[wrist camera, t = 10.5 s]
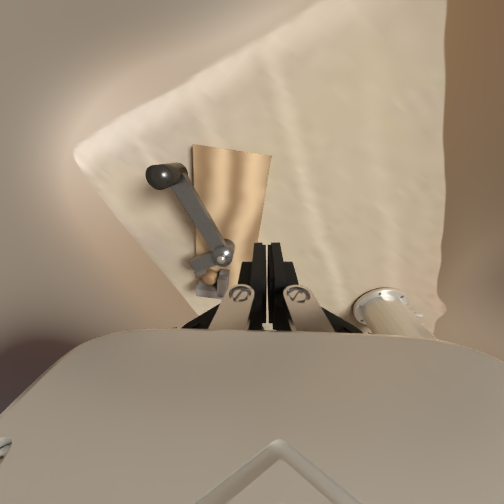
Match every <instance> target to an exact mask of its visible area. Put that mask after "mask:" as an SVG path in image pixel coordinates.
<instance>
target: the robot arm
mask: <svg viewBox="0 0 504 504" xmlns="http://www.w3.org/2000/svg"><path fill="white" fill-rule="evenodd" d="M267 282H268V310H269V323H273V330H277V331H269V330H260V329H262V323H266V245H262V243H254V249H253V259H252V262H242V264H241V269H240V274H239V279H238V284H237V285H234V286H232V287H230V288H229V289H228V290H227V291H226V293H225V295H224V297H223V299H222V301H221V303H220V304H219V305H217V306H215V307H214V308H212V309H210V310H209V311H207V312H205V313H204V314H202V315H200V316H198V317H197V318H195V319H194V320H192V321H190V322H188V323H187V324H186V325H184V326H183V327H182V328H180V329H179V328H177V327H174V328H158V329H135V330H126V331H120V332H115V333H111V334H108V335H104V336H100V337H98V338H95V339H92V340H90V341H87V342H85V343H83V344H81V345H79V346H77V347H75V348H74V349H72V350H71V351H70V352H68V353H67V354H65V356H63V357H62V358H60V359H59V360H58V361H57V362H56V363H54V364H53V365H52V366H51V367H50V368H49V369H48V370H47V371H45V372H44V373H43V374H42V375H41V376H40V377H39V378H38V379H37V380H36V381H34V382H33V383H32V384H31V385H30V386H29V387H28V388H27V389H26V390H25V391H24V392H23V393H22V394H21V395H20V396H19V397H18V398H17V399H16V400H15V401H14V402H13V403H12V404H11V405H10V406H9V407H8V408H7V409H6V410H5V411H4V412H3V413H2V414H0V504H504V362H502V361H500V360H498V359H496V358H494V357H491V356H489V355H487V354H485V353H482V352H479V351H476V350H474V349H470V348H467V347H464V346H461V345H457V344H454V343H450V342H446V341H441V340H437V339H436V338H435V336H434V335H433V334H432V333H431V332H430V331H429V330H428V329H427V328H426V327H425V326H424V325H423V324H422V321H421V320H420V319H418V318H422V317H423V315H422V313H420V312H413V311H412V310H411V309H410V308H409V307H408V298H407V297H406V296H405V295H404V294H403V293H402V292H401V291H399V290H397V289H394V288H380V289H376V290H372V291H370V292H368V293H366V294H364V295H363V296H361V297H360V298H359V299H358V300H357V301H356V303H355V304H354V307H353V314H354V316H355V318H356V319H357V320H358V321H359V322H360V323H362V324H365V325H368V327H369V329H370V330H371V332H372V333H369V332H368V334H364V333H363V332H362V331H360V330H359V329H358V328H356V327H355V326H353V325H351V324H349V323H348V322H346V321H344V320H343V319H341V318H339V317H338V316H336V315H334V314H333V313H331V312H329V311H327V310H326V309H324V308H322V307H321V306H320V305H319V303H318V301H317V300H316V298H315V296H314V294H313V293H312V292H311V290H309V289H308V288H306V287H304V286H301V285H299V284H298V280H297V276H296V273H295V269H294V266H293V262H283V257H282V252H281V247H280V243H271V245H268V277H267Z"/></svg>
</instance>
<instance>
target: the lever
mask: <svg viewBox="0 0 504 504" xmlns="http://www.w3.org/2000/svg"><path fill="white" fill-rule="evenodd" d="M146 179H147V181H148V183H149V184H150V185H151V186H152V187H153V188H155V189H158V190H163V189H165V188H168V187H172V189H173V191H174V192H175V194H176V195H177V197H178V198H179V200H180V202H181V203H182V205H183V206H184V208H185V210H186V211H187V213H188V214H189V216H190V218H191V219H192V221H193V222H194V224H195V225H196V227H197V229H198V230H199V232H200V233H201V235H202V237H203V238H204V240H205V241H206V243H207V245H208V246H209V248H210V249H211V251H208V252H206V253H203V254H201V255H198V256H196V257H193V258H191V259H190V261H189V263H190V265H191V266H192V268H193V269H194V270H195V272H194V273H195V274H196V275H197V276H200V275H203V274H206V273H207V272H208V270H209V268H210V267H213V266H216V265H217V266H220V267H226V266H228V265H230V264H231V262H232V259H233V255H234V251H235V244H234V243H233V242H232V241H231V240H229V239H223V237H222V235H221V233H220V232H219V230H218V228H217V226H216V225H215V223H214V221H213V219H212V218H211V216H210V214H209V212H208V211H207V209H206V207H205V205H204V204H203V202H202V200H201V198H200V197H199V195H198V193H197V191H196V190H195V188H194V186H193V184H192V183H191V181H190V179H189V177H188V172H187V169H186V168H185V166H184V165H182V164H181V163H169V164H160V165H152V166H150V167H148V168H147V170H146Z"/></svg>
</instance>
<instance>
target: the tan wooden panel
mask: <svg viewBox="0 0 504 504" xmlns="http://www.w3.org/2000/svg"><path fill="white" fill-rule="evenodd" d="M270 162H271V156H268V155H262V154H255V153H248V152H241V151H235V150H228V149H221V148H214V147H208V146H201V145H194V144H193V170H194V188H195V190H196V191H197V193H198V195H199V197H200V198H201V200H202V202H203V204H204V205H205V207H206V209H207V211H208V212H209V214H210V216H211V218H212V219H213V221H214V223H215V225H216V226H217V228H218V230H219V232H220V233H221V235H222V237H223V239H229V240H231V241H232V242H233V243H234V244H235V251H234V255H233V259H232V262H231V264H230V265H228V266H226V267H220V266H217V265H216V266H213V267H210V268H209V269H213V270H215V271H216V272H217V274H218V279H217V282H216V283H215V284H213V285H207V284H205V283H204V282H203V281H202V275H200V276H197V287H196V296H200V297H208V298H216V299H223V297H224V295H225V293H226V291H227V290H228V289H229V288H230V287H232V286H234V285H237V284H238V279H239V274H240V269H241V264H242V262H252V259H253V249H254V243H258V236H259V230H260V224H261V218H262V211H263V205H264V199H265V193H266V187H267V180H268V174H269V168H270ZM195 234H196V256H198V255H201V254H203V253H206V252H208V251H211V249H210V248H209V246H208V245H207V243H206V241H205V240H204V238H203V237H202V235H201V233H200V232H199V230H198V229H197V227H196V225H195Z"/></svg>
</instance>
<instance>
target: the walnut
mask: <svg viewBox="0 0 504 504" xmlns="http://www.w3.org/2000/svg"><path fill="white" fill-rule="evenodd" d="M217 279H218V274H217V272H216V271H215V270H213V269H209V270H208V272H207V273H206V274H203V275H202V281H203V282H204V283H205V284H207V285H213V284H215V283H216V282H217Z"/></svg>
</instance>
